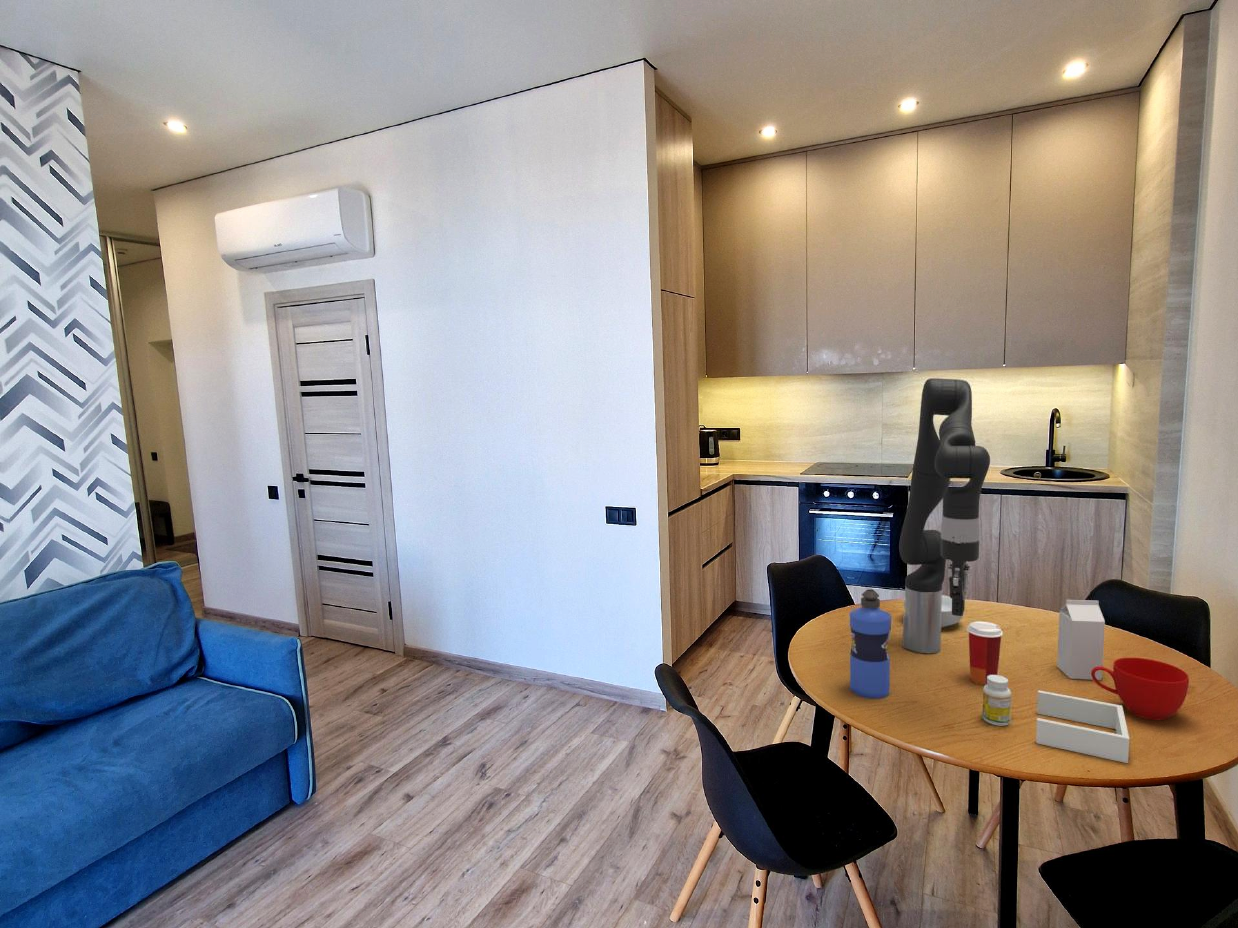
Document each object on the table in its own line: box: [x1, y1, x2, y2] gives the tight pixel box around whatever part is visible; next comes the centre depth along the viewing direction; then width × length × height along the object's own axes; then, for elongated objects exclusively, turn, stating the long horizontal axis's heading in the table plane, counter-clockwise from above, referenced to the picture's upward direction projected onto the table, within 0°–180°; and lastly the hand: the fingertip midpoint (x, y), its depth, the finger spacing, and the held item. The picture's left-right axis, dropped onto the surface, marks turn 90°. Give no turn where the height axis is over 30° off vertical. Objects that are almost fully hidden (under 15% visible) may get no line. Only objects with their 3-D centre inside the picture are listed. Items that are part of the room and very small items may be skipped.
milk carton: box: [1056, 599, 1106, 681], centre depth 165 cm, size 7×7×19 cm
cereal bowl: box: [903, 594, 965, 629], centre depth 203 cm, size 17×17×7 cm
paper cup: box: [966, 620, 1004, 686], centre depth 164 cm, size 8×8×14 cm
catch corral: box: [1035, 690, 1130, 764], centre depth 138 cm, size 15×15×5 cm
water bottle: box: [849, 588, 892, 700], centre depth 160 cm, size 9×9×25 cm
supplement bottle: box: [982, 674, 1012, 727], centre depth 145 cm, size 5×5×10 cm
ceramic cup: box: [1091, 657, 1190, 721], centre depth 147 cm, size 13×17×10 cm
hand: (958, 612), depth 147 cm, fingers closed
